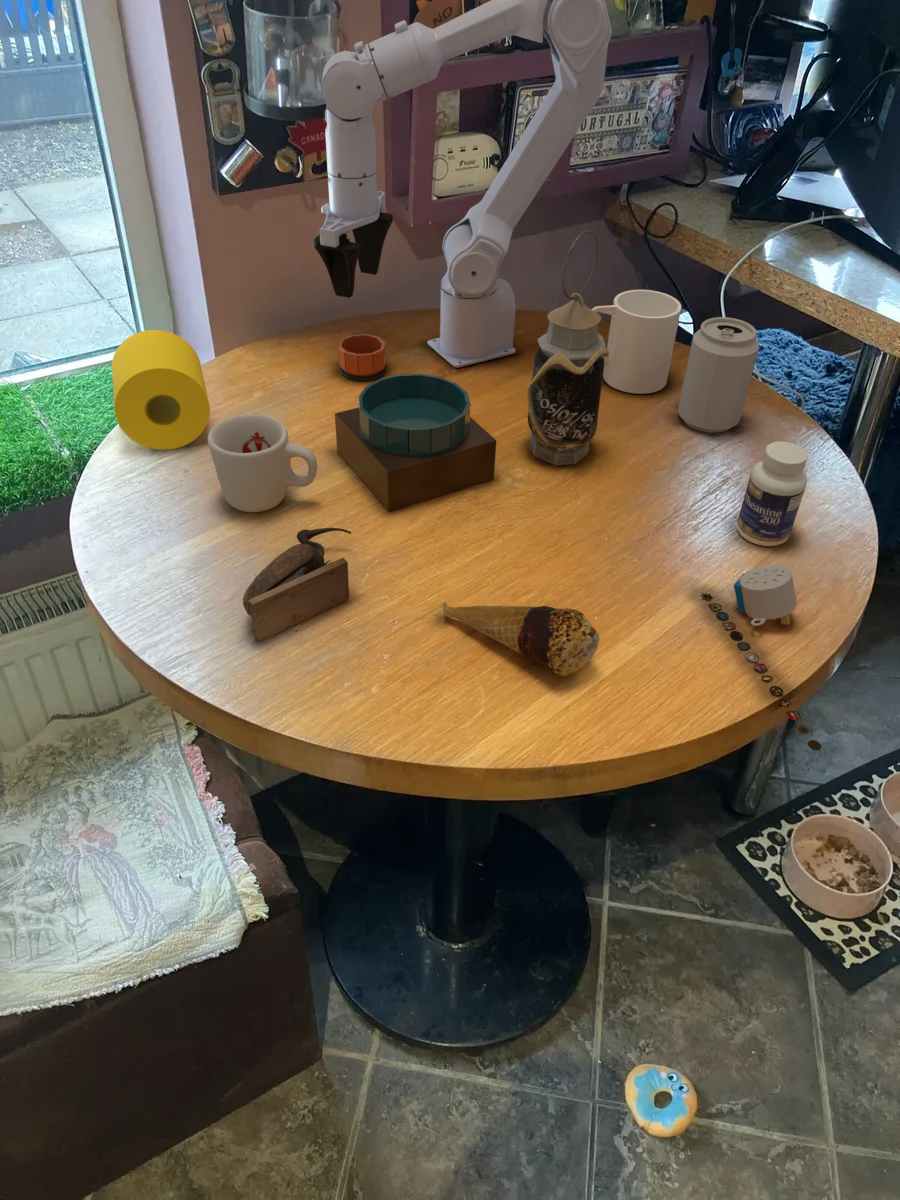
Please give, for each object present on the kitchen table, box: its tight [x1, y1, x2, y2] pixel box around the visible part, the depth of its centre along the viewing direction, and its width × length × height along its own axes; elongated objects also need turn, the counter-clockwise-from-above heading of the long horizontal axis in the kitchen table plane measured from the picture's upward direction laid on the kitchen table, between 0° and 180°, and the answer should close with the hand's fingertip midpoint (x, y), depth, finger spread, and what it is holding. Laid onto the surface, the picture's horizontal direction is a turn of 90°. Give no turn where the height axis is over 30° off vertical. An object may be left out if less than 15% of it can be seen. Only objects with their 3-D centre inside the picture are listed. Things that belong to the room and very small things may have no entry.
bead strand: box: [699, 591, 823, 752], centre depth 83 cm, size 20×1×1 cm
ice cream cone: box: [442, 601, 600, 678], centre depth 82 cm, size 6×6×15 cm
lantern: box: [526, 229, 609, 466], centre depth 100 cm, size 9×8×25 cm
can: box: [677, 316, 760, 434], centre depth 110 cm, size 8×8×12 cm
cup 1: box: [207, 413, 318, 513], centre depth 97 cm, size 11×8×8 cm
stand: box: [334, 407, 497, 512], centre depth 104 cm, size 13×13×5 cm
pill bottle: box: [736, 441, 808, 547], centre depth 94 cm, size 5×5×10 cm
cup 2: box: [590, 289, 682, 395], centre depth 118 cm, size 8×12×10 cm
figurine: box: [242, 527, 352, 642], centre depth 88 cm, size 14×4×9 cm
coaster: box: [339, 363, 388, 382], centre depth 121 cm, size 6×6×1 cm
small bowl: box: [337, 333, 387, 377], centre depth 120 cm, size 6×6×3 cm
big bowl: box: [357, 372, 472, 456], centre depth 101 cm, size 12×12×3 cm
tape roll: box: [111, 329, 211, 451], centre depth 107 cm, size 10×10×9 cm
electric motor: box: [733, 564, 798, 627], centre depth 87 cm, size 7×5×5 cm
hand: (356, 283), depth 119 cm, fingers open, 7 cm apart
